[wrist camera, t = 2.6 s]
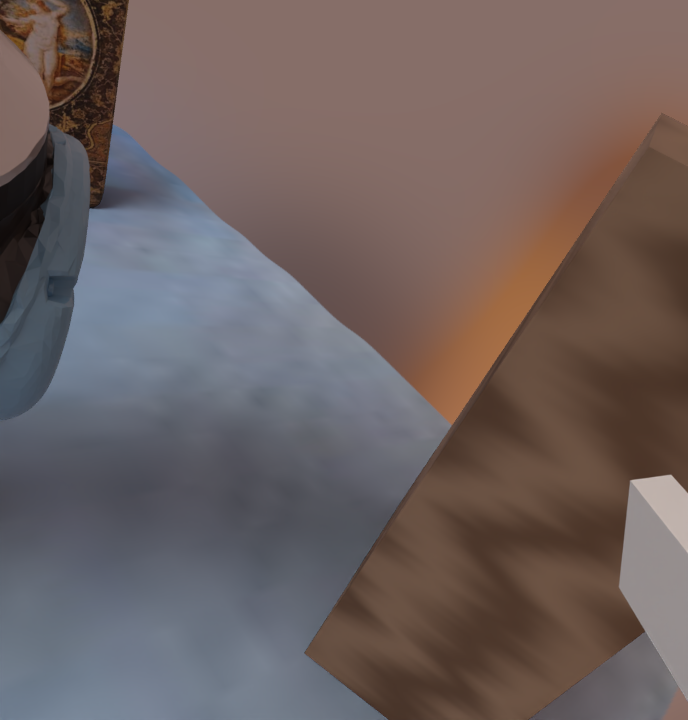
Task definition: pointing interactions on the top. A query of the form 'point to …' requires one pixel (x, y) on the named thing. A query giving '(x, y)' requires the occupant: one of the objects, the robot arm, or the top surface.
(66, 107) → the book
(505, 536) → the walnut stand
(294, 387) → the top surface
